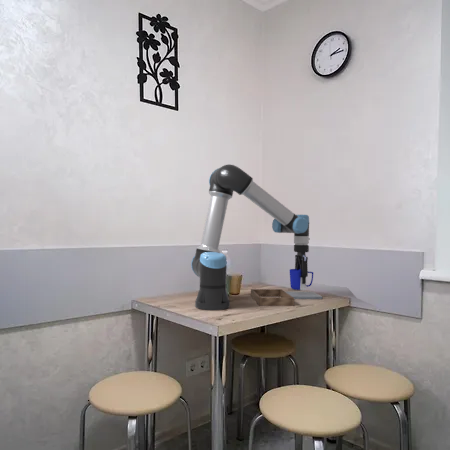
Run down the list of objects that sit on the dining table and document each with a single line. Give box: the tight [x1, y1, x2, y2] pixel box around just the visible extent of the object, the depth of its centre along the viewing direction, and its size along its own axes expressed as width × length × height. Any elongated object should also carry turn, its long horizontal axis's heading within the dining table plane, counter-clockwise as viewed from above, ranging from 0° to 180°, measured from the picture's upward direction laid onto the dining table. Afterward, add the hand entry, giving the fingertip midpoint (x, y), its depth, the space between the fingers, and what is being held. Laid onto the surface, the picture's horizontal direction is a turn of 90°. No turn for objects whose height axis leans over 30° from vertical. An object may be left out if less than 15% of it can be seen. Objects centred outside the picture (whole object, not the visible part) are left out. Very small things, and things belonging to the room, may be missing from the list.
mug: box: [289, 268, 314, 291], centre depth 186 cm, size 8×12×10 cm
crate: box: [250, 288, 295, 307], centre depth 174 cm, size 16×23×4 cm
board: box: [285, 291, 323, 300], centre depth 187 cm, size 18×14×1 cm
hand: (300, 288), depth 187 cm, fingers closed on mug, 7 cm apart
